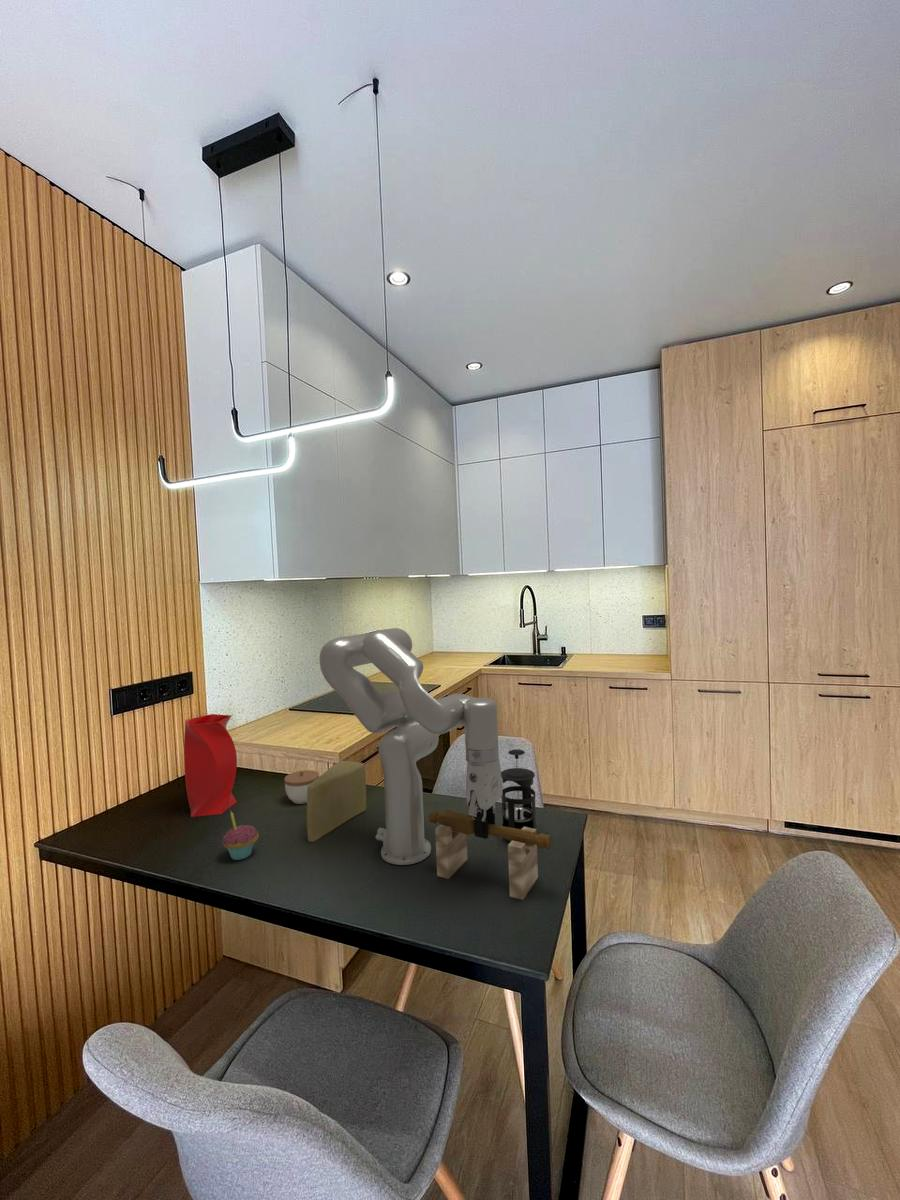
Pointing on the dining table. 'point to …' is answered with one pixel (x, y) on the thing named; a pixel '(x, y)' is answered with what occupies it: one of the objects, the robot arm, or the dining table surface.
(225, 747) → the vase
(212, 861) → the dining table surface
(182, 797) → the dining table surface
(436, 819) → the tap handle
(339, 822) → the cheese
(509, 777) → the french press
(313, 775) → the lidded jar
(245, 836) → the cupcake
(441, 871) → the block
